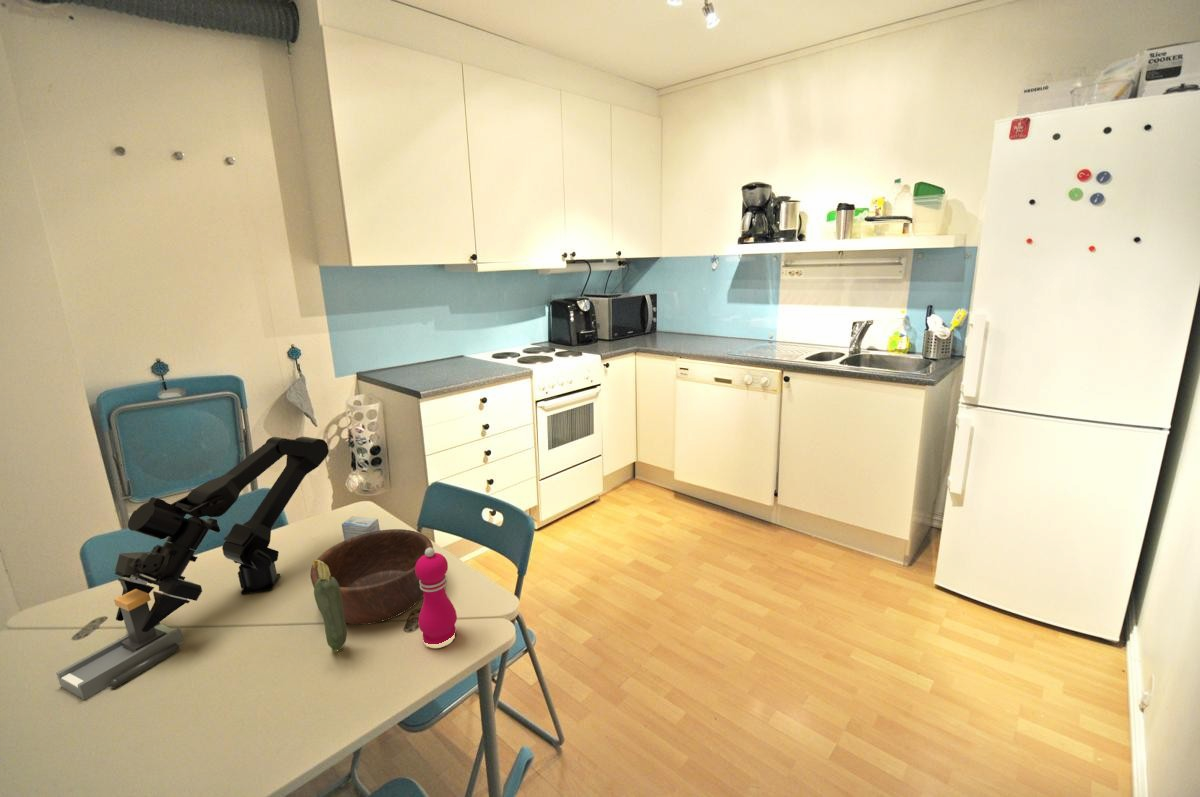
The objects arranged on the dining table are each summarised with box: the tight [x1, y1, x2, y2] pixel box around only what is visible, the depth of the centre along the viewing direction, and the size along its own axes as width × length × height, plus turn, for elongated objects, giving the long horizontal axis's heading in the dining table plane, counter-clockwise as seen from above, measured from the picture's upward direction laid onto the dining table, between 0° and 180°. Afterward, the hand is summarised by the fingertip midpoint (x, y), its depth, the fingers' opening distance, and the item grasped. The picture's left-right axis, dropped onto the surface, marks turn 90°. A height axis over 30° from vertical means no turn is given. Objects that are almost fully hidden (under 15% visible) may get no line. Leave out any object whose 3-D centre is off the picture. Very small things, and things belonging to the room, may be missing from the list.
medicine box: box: [341, 515, 381, 541], centre depth 140 cm, size 8×4×9 cm, turn 77°
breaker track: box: [56, 622, 185, 701], centre depth 103 cm, size 16×13×3 cm
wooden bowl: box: [310, 528, 434, 625], centre depth 120 cm, size 25×25×10 cm
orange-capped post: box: [113, 589, 166, 652], centre depth 104 cm, size 5×5×10 cm
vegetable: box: [312, 559, 348, 652], centre depth 102 cm, size 4×4×20 cm
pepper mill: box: [415, 547, 458, 644], centre depth 105 cm, size 7×7×20 cm
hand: (130, 626), depth 103 cm, fingers open, 8 cm apart
